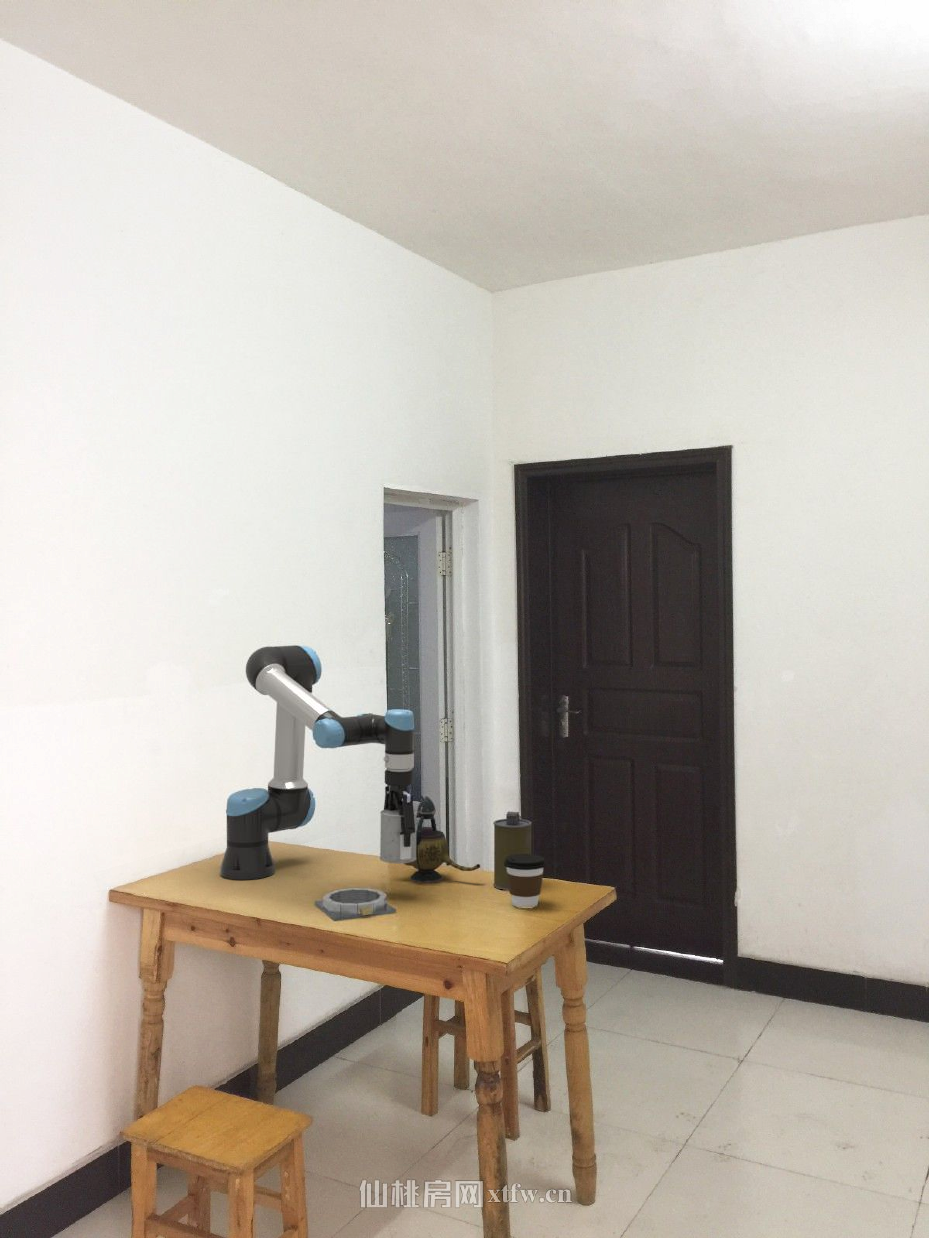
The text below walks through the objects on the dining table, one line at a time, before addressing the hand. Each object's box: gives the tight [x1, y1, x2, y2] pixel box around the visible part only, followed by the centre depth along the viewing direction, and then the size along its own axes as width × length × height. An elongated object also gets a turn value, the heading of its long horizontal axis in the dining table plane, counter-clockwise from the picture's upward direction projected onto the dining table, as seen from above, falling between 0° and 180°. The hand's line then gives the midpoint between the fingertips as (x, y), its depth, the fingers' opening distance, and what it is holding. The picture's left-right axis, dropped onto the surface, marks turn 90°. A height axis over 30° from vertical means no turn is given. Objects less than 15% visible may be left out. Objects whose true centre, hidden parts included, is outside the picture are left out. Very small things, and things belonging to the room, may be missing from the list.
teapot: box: [403, 795, 481, 884], centre depth 292 cm, size 12×25×23 cm, turn 66°
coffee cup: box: [504, 853, 547, 908], centre depth 267 cm, size 11×11×12 cm
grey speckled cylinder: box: [379, 809, 417, 864], centre depth 275 cm, size 10×10×12 cm
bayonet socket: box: [314, 887, 397, 922], centre depth 265 cm, size 18×16×3 cm
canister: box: [493, 811, 533, 891], centre depth 286 cm, size 11×10×20 cm
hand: (398, 854), depth 275 cm, fingers closed on grey speckled cylinder, 9 cm apart
